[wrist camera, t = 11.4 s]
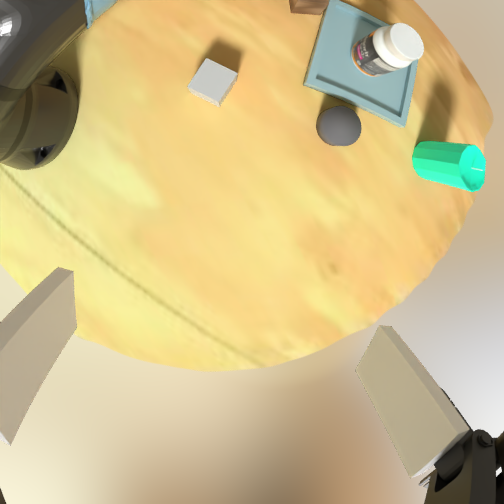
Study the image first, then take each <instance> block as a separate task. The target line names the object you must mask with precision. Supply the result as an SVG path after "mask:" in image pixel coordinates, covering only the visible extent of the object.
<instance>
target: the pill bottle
mask: <svg viewBox="0 0 504 504" xmlns="http://www.w3.org/2000/svg"><path fill="white" fill-rule="evenodd" d="M423 52H424V46H423V42H422V40H421V38H420V36H419V35H418V33H417V32H416V31H415V30H414V29H413V28H412V27H410V26H408V25H406V24H404V23H396V24H393V25H391V26H384V27H380V28H378V29H377V30H375V31H373V32H372V33H370V34H369V35H367V36H365V37H364V38H362V39H361V40H359V41H358V42H356V43H355V44H354V45H353V47H352V49H351V58H352V61H353V63H354V65H355V66H356V68H357V69H358V70H359V71H361V72H362V73H363V74H365V75H368V76H371V77H377V76H381V75H384V74H387V73H390V72H393V71H396V70H399V69H402V68H405V67H407V66H409V65H410V64H411V63H412V61H414V60H416V59H419V58H420V57H421V56H422V55H423Z"/></svg>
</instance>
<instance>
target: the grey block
mask: <svg viewBox="0 0 504 504" xmlns="http://www.w3.org/2000/svg"><path fill="white" fill-rule="evenodd" d="M237 74H238V73H236V72H234V71H232V70H230V69H228V68H226V67H224V66H222V65H220V64H218V63H216V62H214V61H212V60H209V59H207V58H206V59H205V61H204V62H203V64H202V65H201V67H200V68H199V70H198V71H197V73H196V74H195V76H194V77H193V79H192V80H191V82H190V83H189V85H188V86H187V87H188V89H189V90H190V92H191V93H192V94H194V95H196V96H198V97H200V98H202V99H204V100H206V101H208V102H210V103H212V104H214V105H216V106H218V107H220V106H221V104H222V102H223V101H224V99H225V98H226V96H227V95H228V93H229V92H230V90H231V89H232V87H233V85H234V84H235V82H236V80H237Z"/></svg>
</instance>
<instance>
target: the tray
mask: <svg viewBox="0 0 504 504" xmlns="http://www.w3.org/2000/svg"><path fill="white" fill-rule="evenodd" d="M328 2H329V5H328V6H327V7H326V8H325V10H324V14H323V17H322V21H321V24H320V28H319V31H318V35H317V38H316V42H315V45H314V49H313V52H312V56H311V59H310V62H309V66H308V69H307V73H306V76H305V80H304V83H303V85H304V86H307V87H310V88H312V89H315V90H318V91H320V92H323V93H326V94H328V95H331V96H333V97H336V98H338V99H340V100H343V101H345V102H348V103H350V104H352V105H354V106H357V107H359V108H361V109H363V110H365V111H368V112H370V113H372V114H374V115H376V116H378V117H380V118H382V119H384V120H386V121H388V122H390V123H392V124H394V125H396V126H398V127H405V125H406V120H407V116H408V111H409V107H410V102H411V97H412V92H413V87H414V81H415V76H416V70H417V64H418V59H416V60H414V61H412V63H411V64H410V65H409V66H407V67H405V68H402V69H399V70H396V71H393V72H390V73H387V74H384V75H381V76H377V77H371V76H368V75H365V74H363V73H362V72H361V71H359V70H358V69H357V68H356V66H355V65H354V63H353V61H352V58H351V49H352V47H353V45H354V44H355V43H356V42H358V41H359V40H361V39H362V38H364V37H365V36H367V35H369V34H370V33H372V32H373V31H375V30H377V29H378V28H380V27H384V26H390V25H388V24H387V23H385V22H383V21H381V20H379V19H377V18H375V17H373V16H372V15H370V14H368V13H366V12H364V11H361V10H359V9H357V8H355V7H353V6H351V5H348V4H346V3H344V2H342V1H339V0H328Z"/></svg>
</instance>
